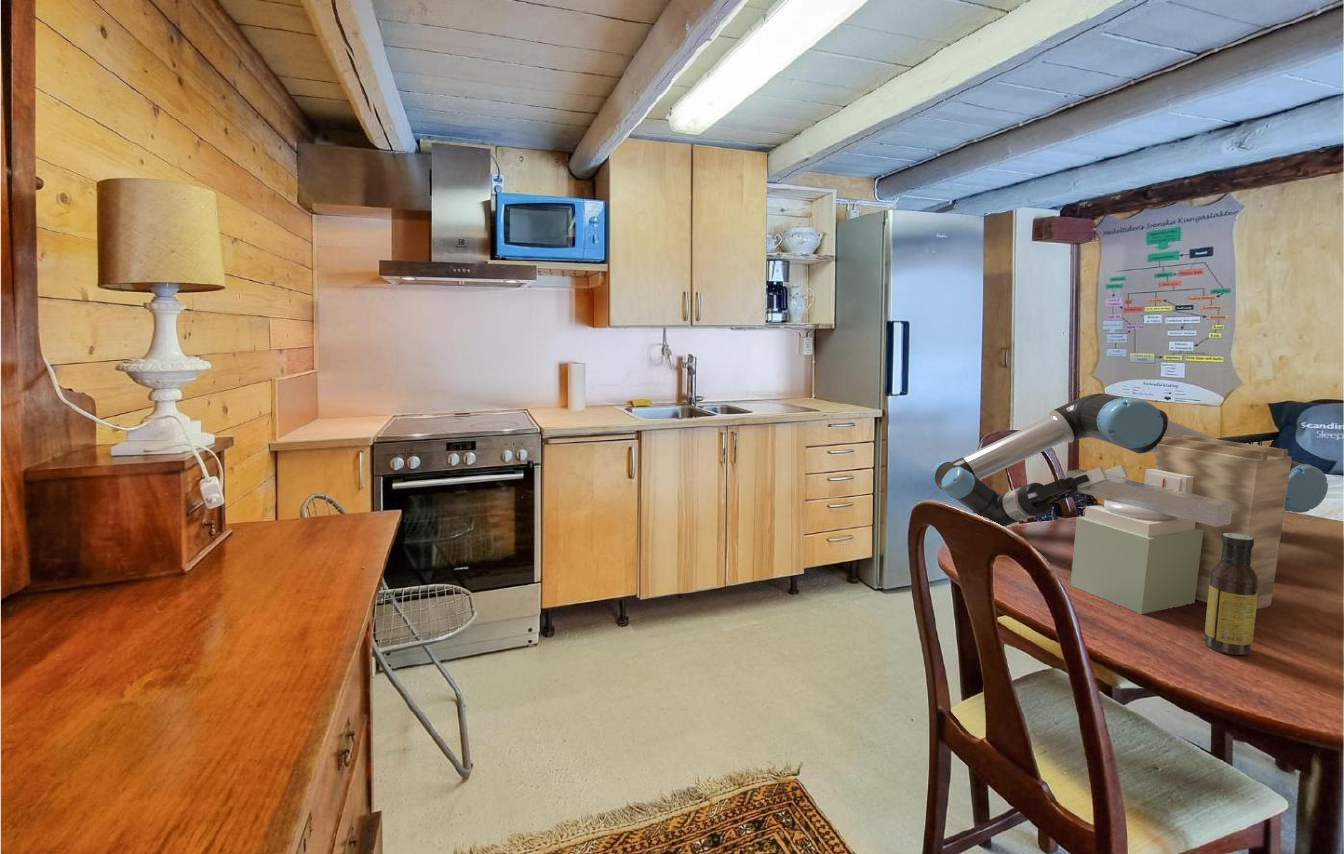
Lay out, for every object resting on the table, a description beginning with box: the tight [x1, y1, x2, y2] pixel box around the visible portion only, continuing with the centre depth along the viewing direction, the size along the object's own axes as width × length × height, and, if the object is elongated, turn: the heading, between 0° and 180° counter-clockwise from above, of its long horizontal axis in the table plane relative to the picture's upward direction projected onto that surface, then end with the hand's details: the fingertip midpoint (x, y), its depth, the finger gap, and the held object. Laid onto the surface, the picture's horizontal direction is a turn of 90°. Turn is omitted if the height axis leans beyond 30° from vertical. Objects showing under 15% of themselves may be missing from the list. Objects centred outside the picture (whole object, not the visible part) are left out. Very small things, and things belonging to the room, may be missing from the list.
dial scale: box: [1084, 468, 1195, 537], centre depth 130 cm, size 13×15×10 cm
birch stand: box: [1154, 435, 1293, 611], centre depth 131 cm, size 18×10×32 cm, turn 19°
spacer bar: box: [1065, 468, 1233, 527], centre depth 130 cm, size 30×4×4 cm, turn 19°
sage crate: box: [1070, 516, 1203, 615], centre depth 132 cm, size 15×15×15 cm
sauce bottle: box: [1204, 533, 1258, 656], centre depth 109 cm, size 6×6×20 cm
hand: (1113, 471), depth 135 cm, fingers open, 5 cm apart
